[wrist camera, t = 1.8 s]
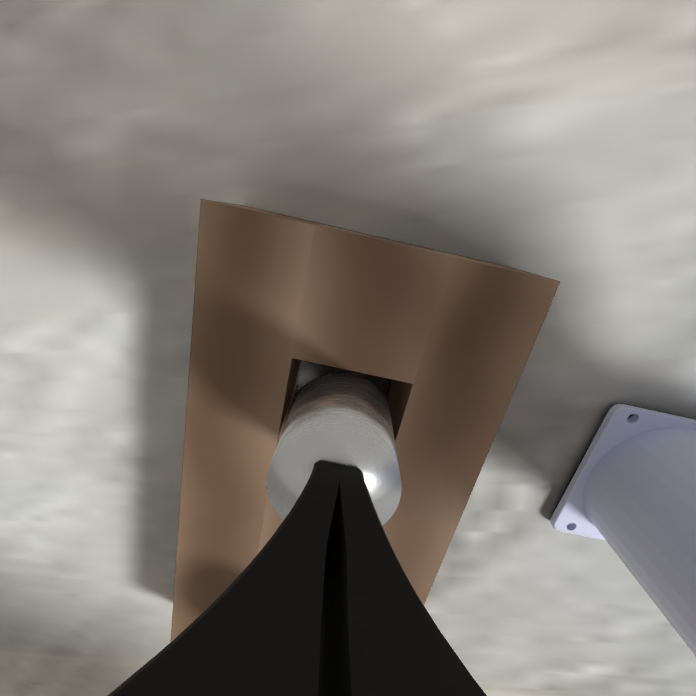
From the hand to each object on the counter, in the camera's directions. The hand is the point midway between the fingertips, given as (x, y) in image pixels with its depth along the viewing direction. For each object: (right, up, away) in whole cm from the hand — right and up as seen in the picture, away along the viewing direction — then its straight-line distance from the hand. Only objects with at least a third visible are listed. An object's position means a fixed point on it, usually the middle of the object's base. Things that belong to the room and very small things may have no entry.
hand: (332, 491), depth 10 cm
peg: (0, +1, +4) cm, 4 cm away
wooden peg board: (-1, -3, +9) cm, 10 cm away
